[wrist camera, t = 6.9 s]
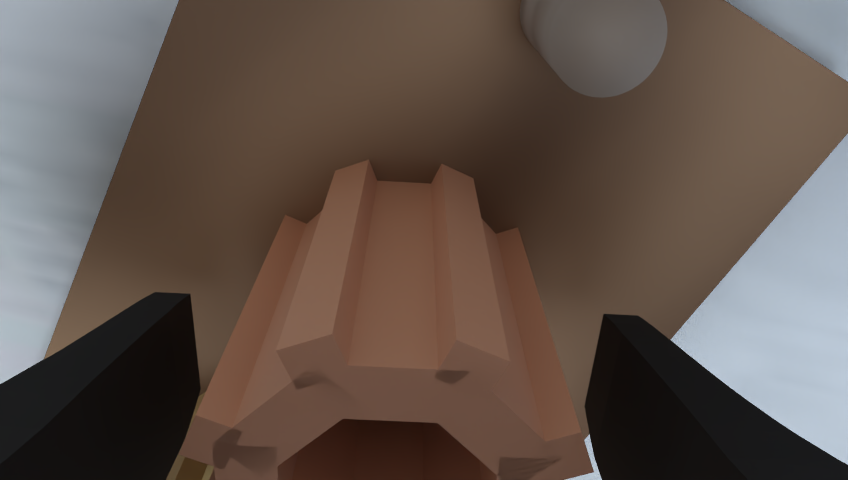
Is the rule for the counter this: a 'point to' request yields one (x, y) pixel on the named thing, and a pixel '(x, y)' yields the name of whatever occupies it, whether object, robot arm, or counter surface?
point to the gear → (391, 349)
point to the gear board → (462, 150)
